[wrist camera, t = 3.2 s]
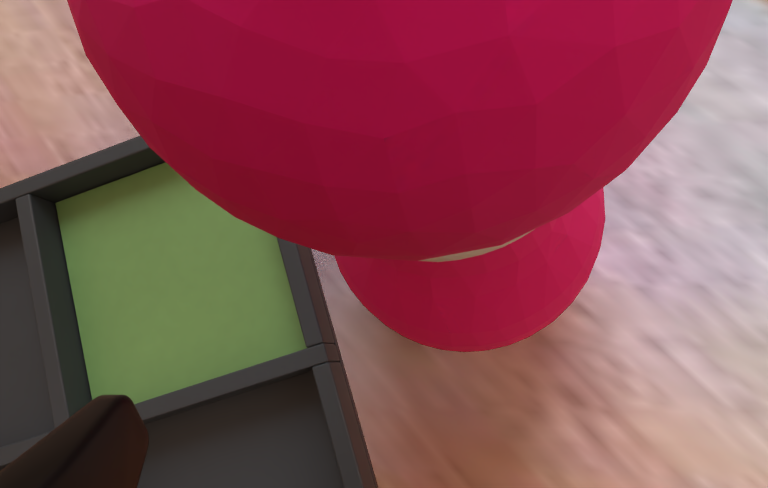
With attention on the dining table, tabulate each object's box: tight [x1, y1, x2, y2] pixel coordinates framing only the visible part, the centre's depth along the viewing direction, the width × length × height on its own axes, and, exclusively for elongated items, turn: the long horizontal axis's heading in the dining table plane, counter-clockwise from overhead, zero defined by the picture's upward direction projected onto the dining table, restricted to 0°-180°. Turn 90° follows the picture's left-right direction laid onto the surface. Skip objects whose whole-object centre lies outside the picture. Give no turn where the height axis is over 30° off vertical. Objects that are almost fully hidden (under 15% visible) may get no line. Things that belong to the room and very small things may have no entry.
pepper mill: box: [67, 0, 732, 352], centre depth 12 cm, size 7×7×20 cm
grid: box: [0, 136, 378, 488], centre depth 22 cm, size 18×18×2 cm
